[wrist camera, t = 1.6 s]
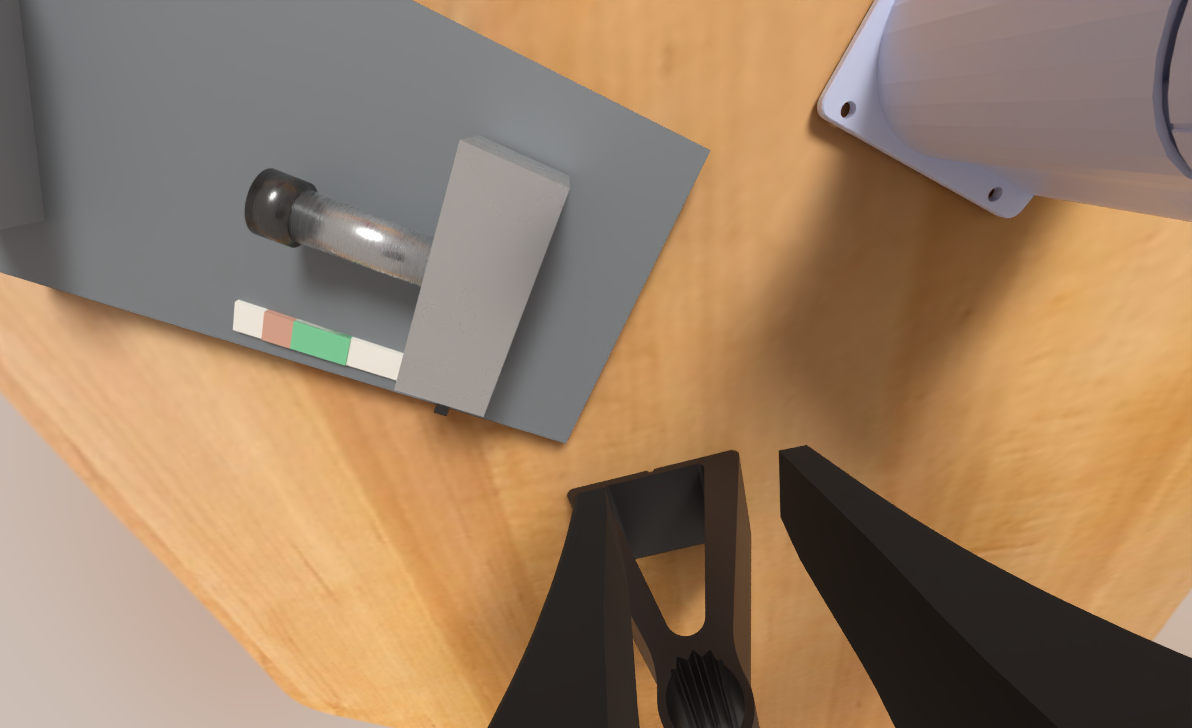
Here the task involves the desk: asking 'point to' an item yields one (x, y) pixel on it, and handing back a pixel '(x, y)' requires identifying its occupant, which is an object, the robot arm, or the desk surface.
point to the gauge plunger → (439, 260)
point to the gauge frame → (314, 176)
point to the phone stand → (723, 645)
